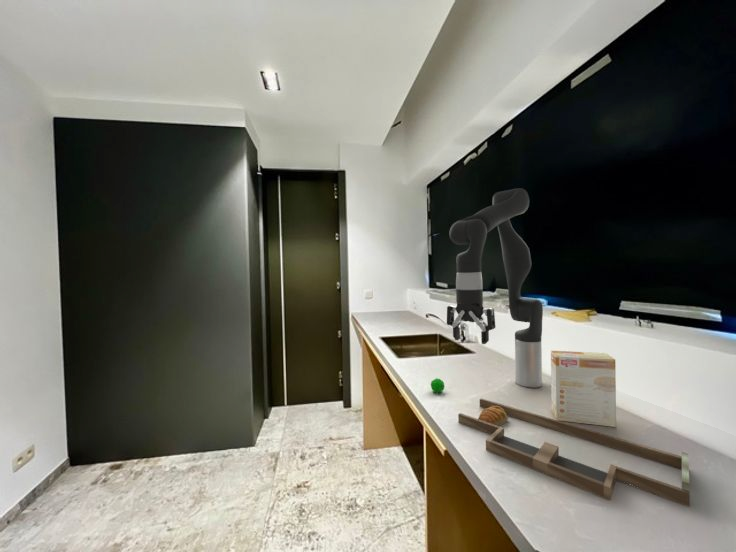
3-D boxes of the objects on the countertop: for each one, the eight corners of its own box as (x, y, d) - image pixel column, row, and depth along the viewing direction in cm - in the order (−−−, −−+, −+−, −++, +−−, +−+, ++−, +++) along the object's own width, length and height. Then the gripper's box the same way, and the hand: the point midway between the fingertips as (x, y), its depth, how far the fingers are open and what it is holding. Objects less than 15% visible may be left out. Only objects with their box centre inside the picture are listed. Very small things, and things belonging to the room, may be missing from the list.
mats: (504, 437, 84) (504, 435, 84) (610, 475, 68) (610, 474, 68) (491, 449, 79) (491, 448, 79) (604, 495, 62) (604, 493, 62)
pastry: (493, 432, 87) (493, 418, 87) (472, 423, 93) (471, 410, 92) (509, 421, 93) (509, 408, 93) (488, 413, 98) (488, 401, 98)
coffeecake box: (607, 416, 94) (606, 352, 94) (617, 428, 87) (616, 359, 87) (550, 410, 99) (550, 349, 99) (556, 420, 92) (555, 355, 92)
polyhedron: (447, 392, 115) (447, 379, 115) (438, 395, 112) (438, 382, 112) (437, 388, 119) (436, 375, 119) (428, 391, 116) (427, 378, 116)
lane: (481, 405, 103) (480, 393, 103) (687, 469, 70) (688, 451, 69) (444, 432, 87) (443, 418, 87) (690, 533, 53) (690, 510, 53)
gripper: (498, 287, 90) (499, 342, 91) (453, 286, 100) (454, 336, 101) (487, 289, 85) (488, 348, 86) (441, 287, 95) (442, 340, 96)
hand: (470, 341), depth 93 cm, fingers open, 8 cm apart
